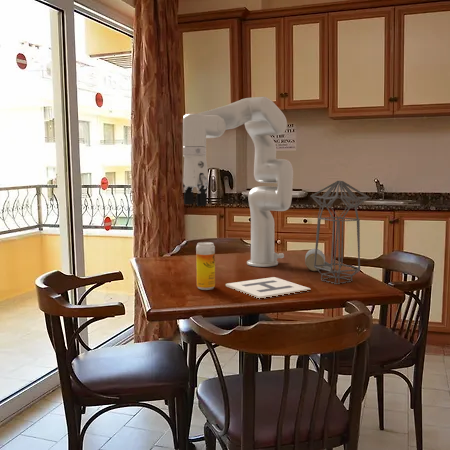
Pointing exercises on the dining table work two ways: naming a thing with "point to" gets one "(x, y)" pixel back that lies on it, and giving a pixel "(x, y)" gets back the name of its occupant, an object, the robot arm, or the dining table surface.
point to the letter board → (267, 287)
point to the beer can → (205, 265)
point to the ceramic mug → (319, 260)
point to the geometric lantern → (338, 226)
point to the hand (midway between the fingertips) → (195, 204)
